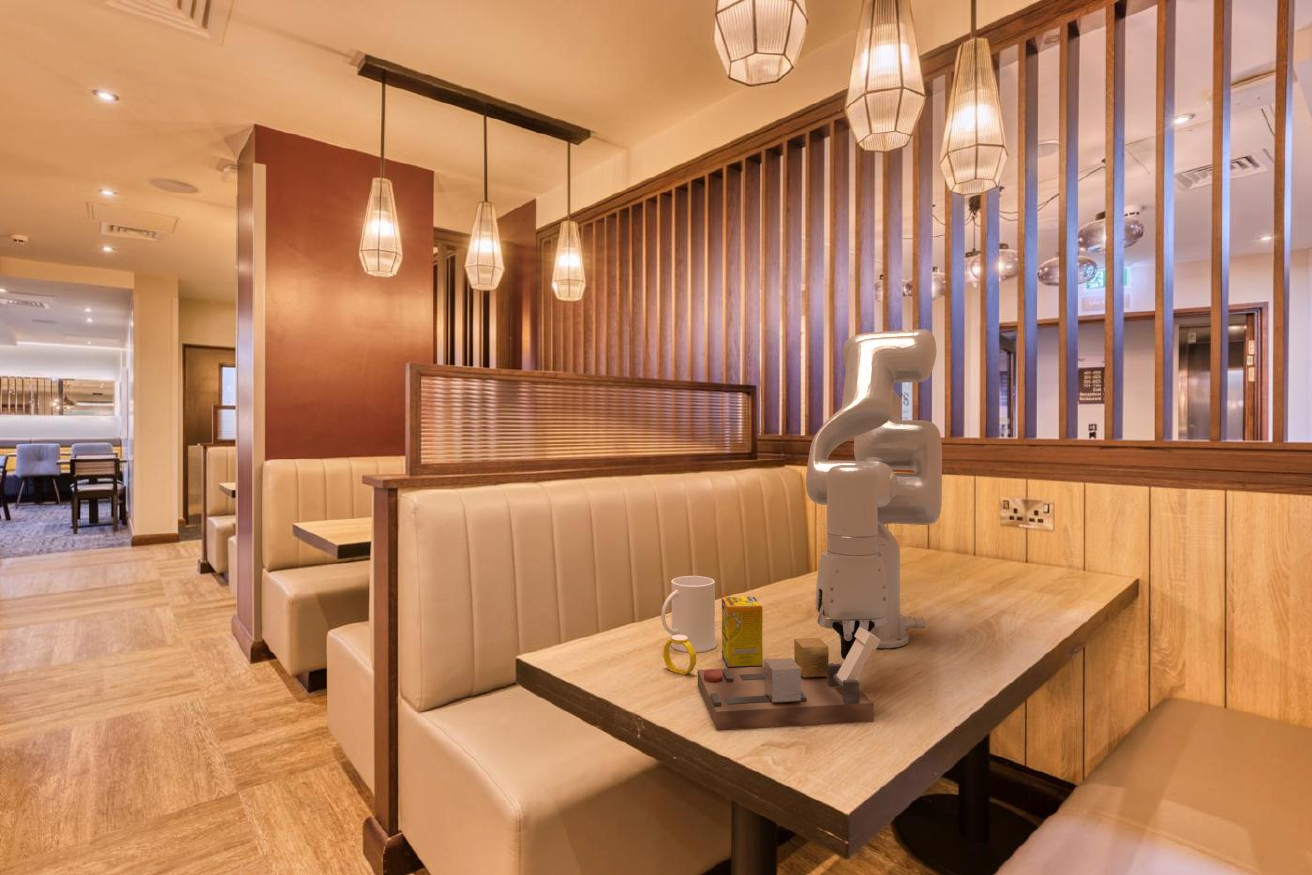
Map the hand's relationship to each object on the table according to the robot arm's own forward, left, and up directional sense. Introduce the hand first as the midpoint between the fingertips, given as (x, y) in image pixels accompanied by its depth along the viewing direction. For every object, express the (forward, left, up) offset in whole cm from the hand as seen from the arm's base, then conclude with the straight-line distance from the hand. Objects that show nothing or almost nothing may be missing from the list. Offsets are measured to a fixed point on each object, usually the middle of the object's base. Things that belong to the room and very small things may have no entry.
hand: (852, 663), depth 101 cm
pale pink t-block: (+4, +7, 0) cm, 9 cm away
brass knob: (+6, 0, -1) cm, 7 cm away
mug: (+22, -22, -4) cm, 32 cm away
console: (+12, +3, -4) cm, 14 cm away
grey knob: (+13, +8, -1) cm, 16 cm away
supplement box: (+14, -12, -4) cm, 19 cm away
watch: (+25, -10, -4) cm, 28 cm away
